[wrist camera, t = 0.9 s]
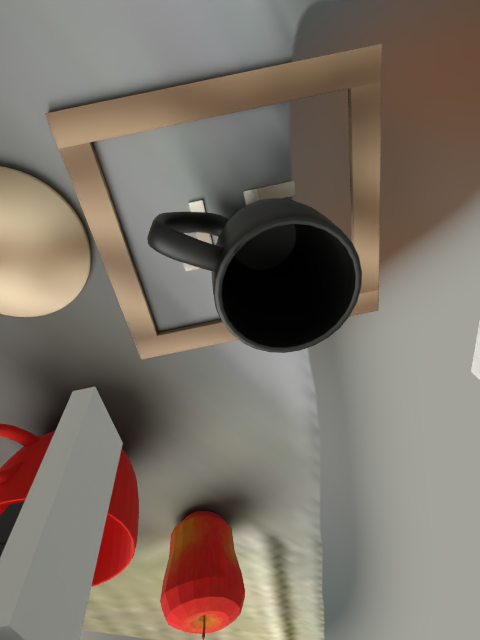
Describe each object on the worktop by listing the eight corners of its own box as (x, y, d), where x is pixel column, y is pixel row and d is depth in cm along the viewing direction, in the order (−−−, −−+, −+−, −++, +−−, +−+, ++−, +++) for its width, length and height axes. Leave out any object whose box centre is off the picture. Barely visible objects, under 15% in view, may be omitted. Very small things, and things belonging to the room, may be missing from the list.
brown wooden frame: (47, 113, 23) (45, 113, 23) (378, 44, 23) (382, 43, 23) (141, 356, 33) (141, 359, 33) (375, 307, 33) (378, 310, 32)
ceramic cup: (73, 347, 32) (27, 437, 23) (171, 463, 40) (165, 561, 32) (-51, 404, 33) (-137, 508, 25) (69, 504, 42) (36, 608, 33)
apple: (158, 538, 47) (147, 659, 36) (178, 495, 43) (172, 617, 33) (223, 545, 49) (230, 661, 39) (247, 506, 45) (262, 623, 35)
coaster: (-112, 183, 24) (-119, 185, 24) (53, 149, 24) (50, 150, 24) (-23, 325, 30) (-27, 329, 29) (112, 297, 30) (111, 300, 29)
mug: (184, 134, 25) (179, 149, 16) (335, 210, 28) (393, 254, 20) (144, 245, 28) (122, 304, 20) (283, 300, 31) (314, 370, 23)
